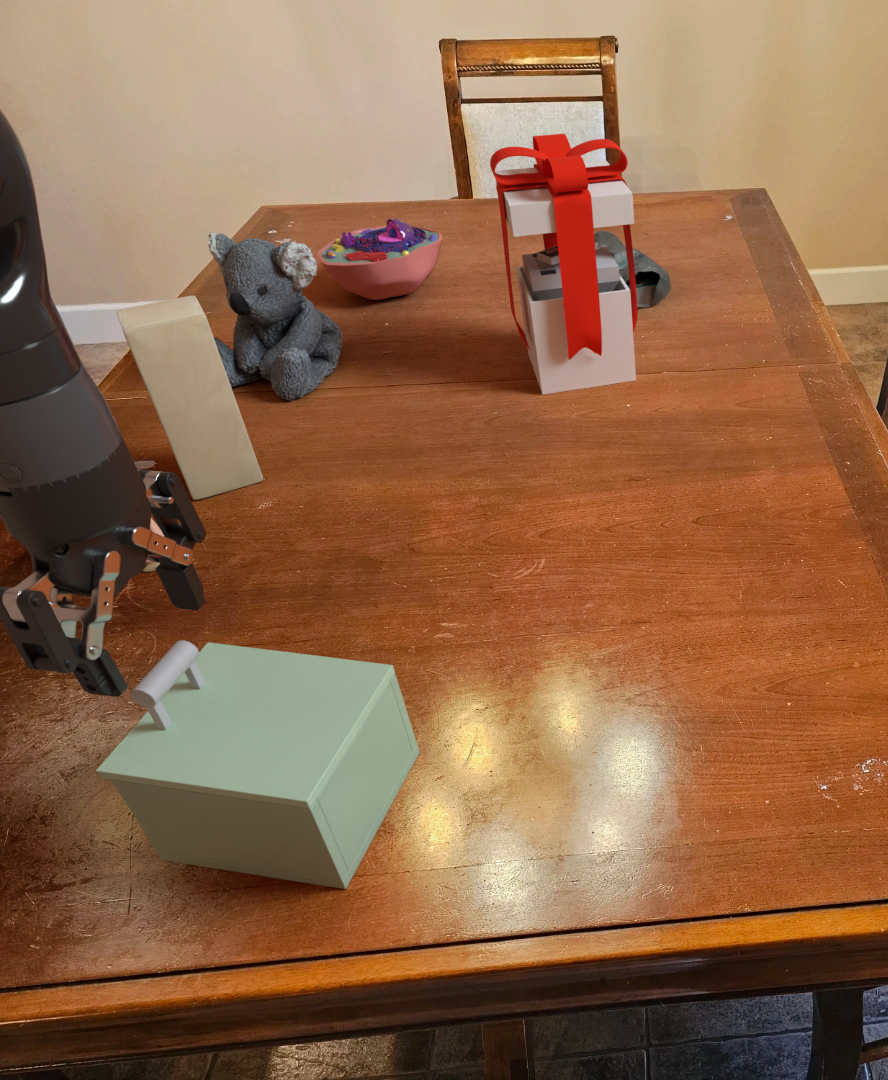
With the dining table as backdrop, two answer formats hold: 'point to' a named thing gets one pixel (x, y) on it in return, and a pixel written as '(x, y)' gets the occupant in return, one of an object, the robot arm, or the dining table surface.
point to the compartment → (289, 811)
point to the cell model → (382, 259)
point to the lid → (245, 722)
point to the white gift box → (571, 262)
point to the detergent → (638, 271)
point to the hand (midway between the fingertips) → (153, 647)
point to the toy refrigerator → (191, 394)
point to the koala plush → (274, 316)
